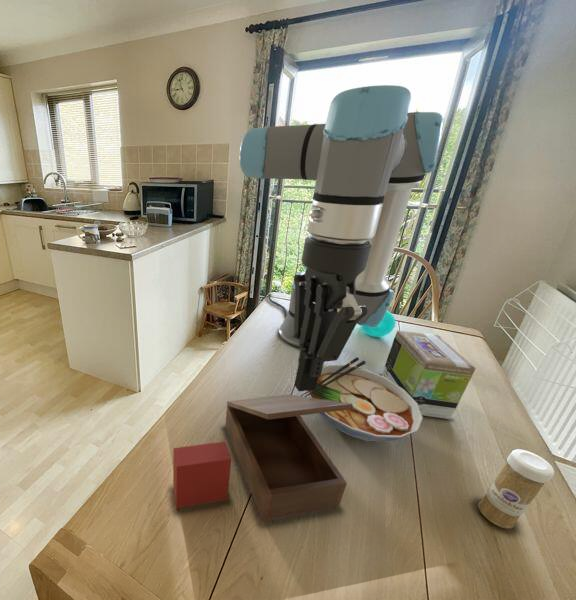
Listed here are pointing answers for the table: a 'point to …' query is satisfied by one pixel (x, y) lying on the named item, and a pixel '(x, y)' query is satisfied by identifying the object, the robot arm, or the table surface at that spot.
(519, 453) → the sprinkles bottle
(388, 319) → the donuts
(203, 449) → the book
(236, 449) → the chest
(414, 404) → the ramen bowl
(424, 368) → the tea box
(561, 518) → the table surface
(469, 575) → the table surface
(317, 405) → the lid
